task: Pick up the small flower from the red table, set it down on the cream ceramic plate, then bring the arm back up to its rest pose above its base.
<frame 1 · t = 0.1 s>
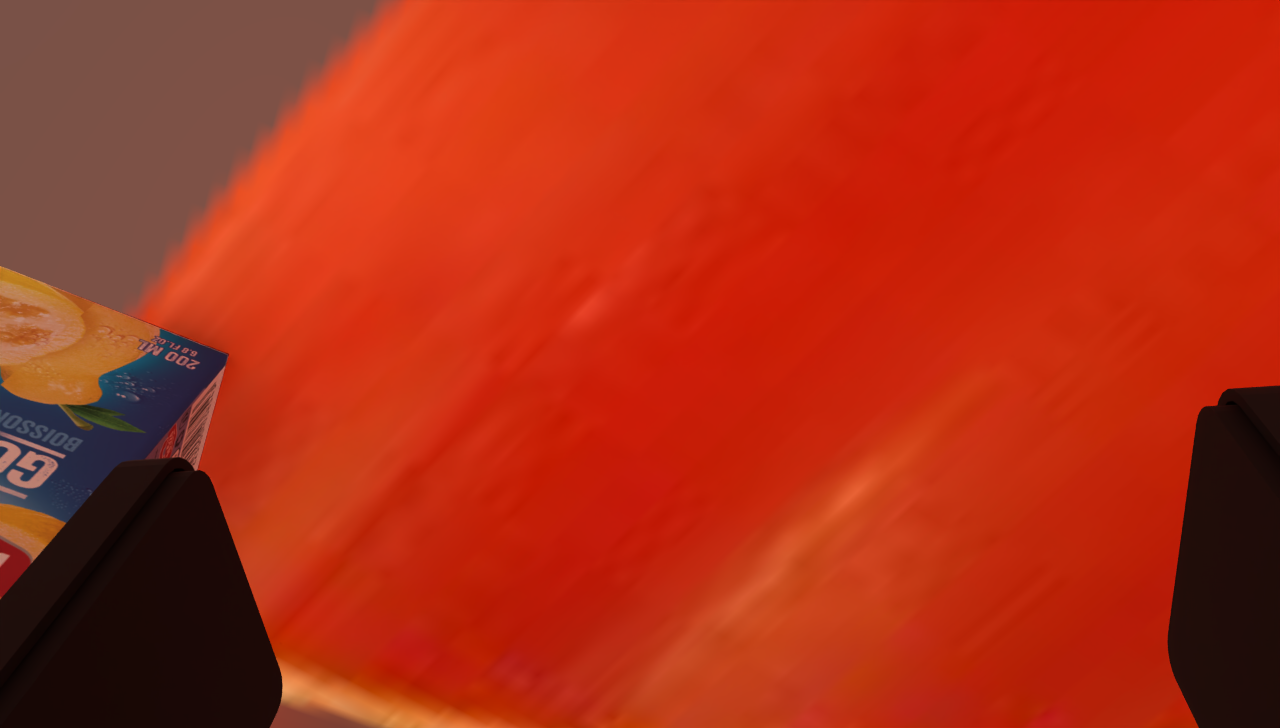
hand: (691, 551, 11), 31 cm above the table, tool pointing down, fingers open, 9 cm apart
beverage box: (91, 368, 48), on the table
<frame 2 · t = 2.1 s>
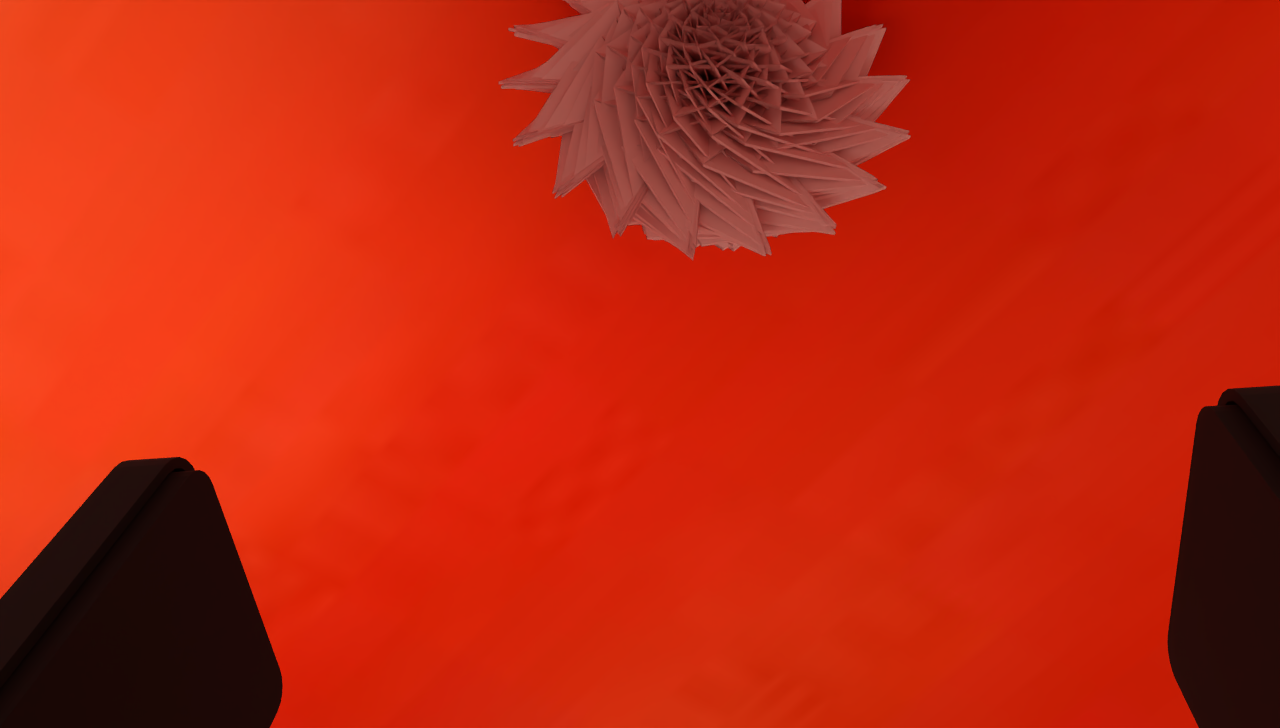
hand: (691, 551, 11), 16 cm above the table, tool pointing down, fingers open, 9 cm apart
flower: (698, 59, 25), on the table
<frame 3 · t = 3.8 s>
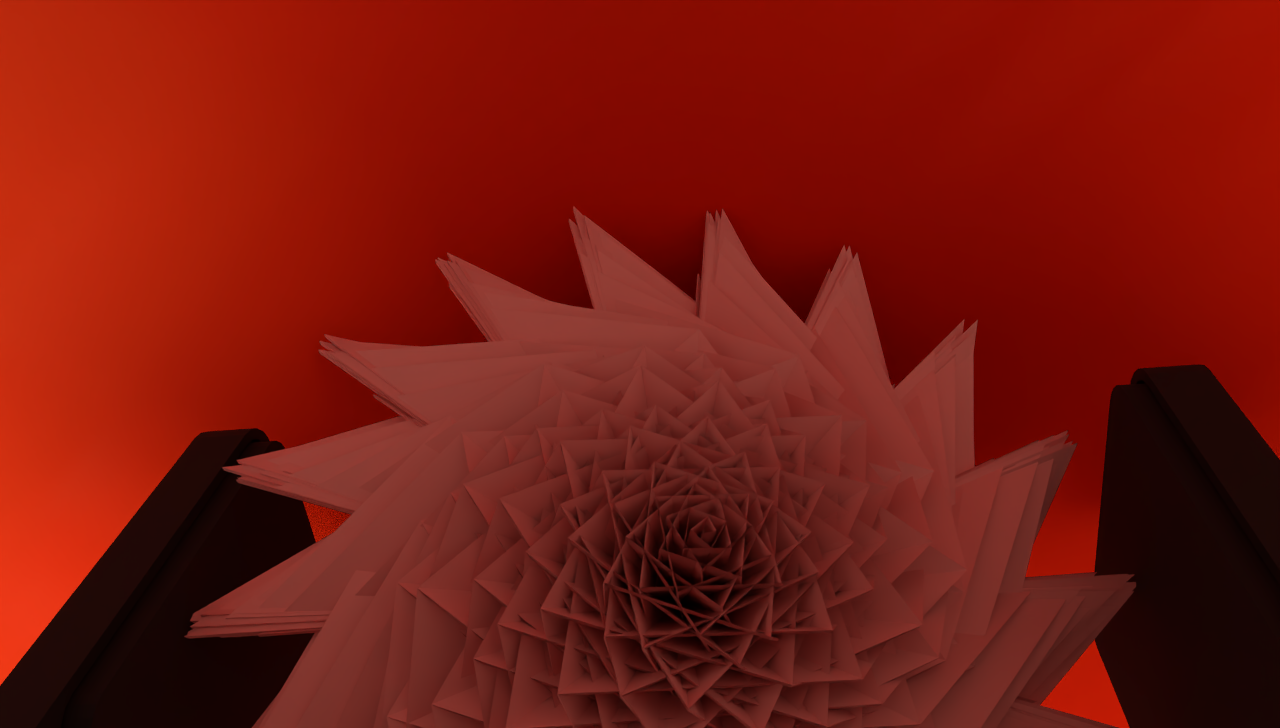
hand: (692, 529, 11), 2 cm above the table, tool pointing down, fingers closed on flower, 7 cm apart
flower: (668, 425, 13), on the table, touching gripper
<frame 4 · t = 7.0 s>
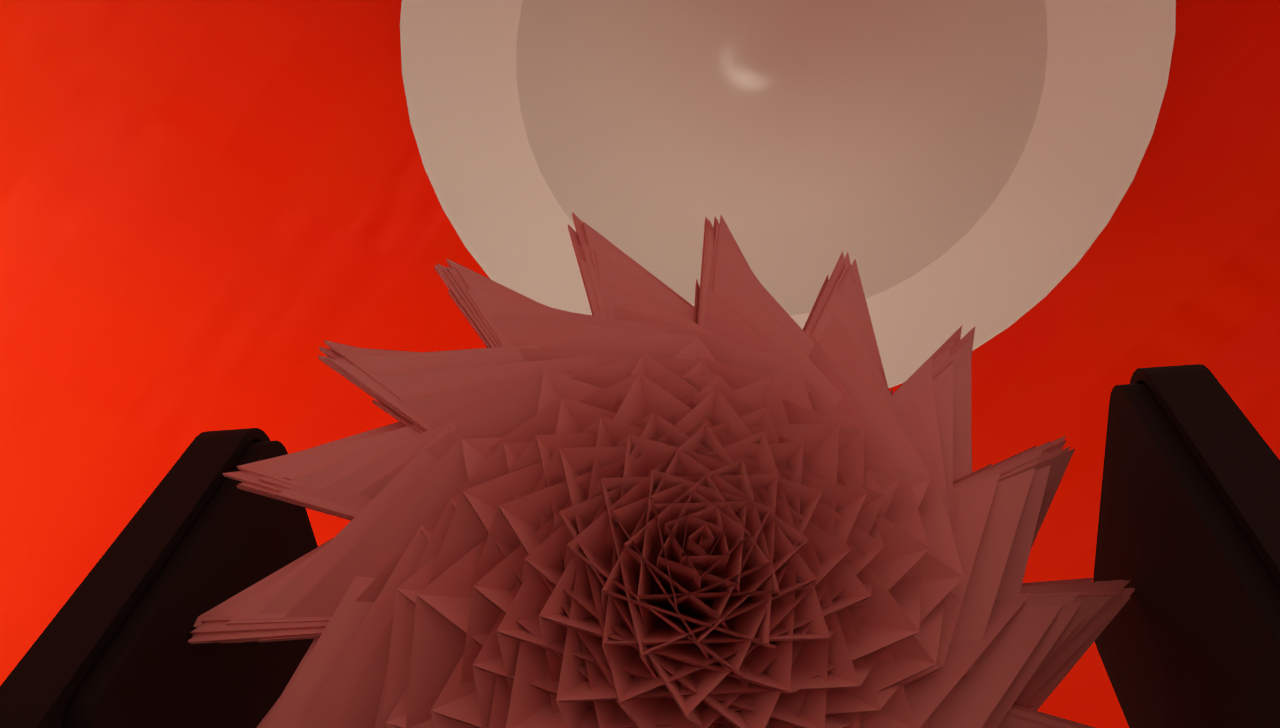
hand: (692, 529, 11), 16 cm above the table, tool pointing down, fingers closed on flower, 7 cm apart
flower: (667, 429, 13), point 14 cm above the table, touching gripper
plate: (774, 65, 24), on the table
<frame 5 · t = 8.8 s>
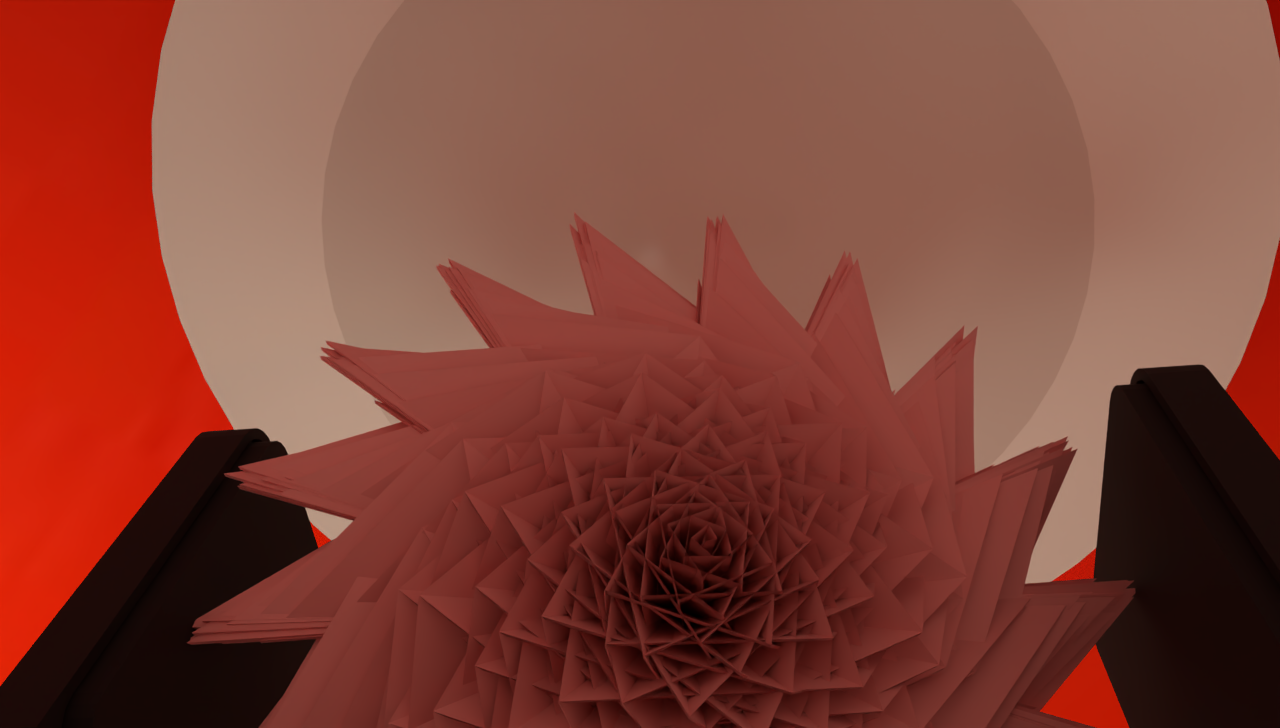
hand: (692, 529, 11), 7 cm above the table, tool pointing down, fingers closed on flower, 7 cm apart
flower: (669, 430, 13), point 5 cm above the table, touching gripper
plate: (700, 244, 17), on the table
when the fingers open (3 cm above the table, at t = 10.2 s): flower stays where it is, resting on plate.
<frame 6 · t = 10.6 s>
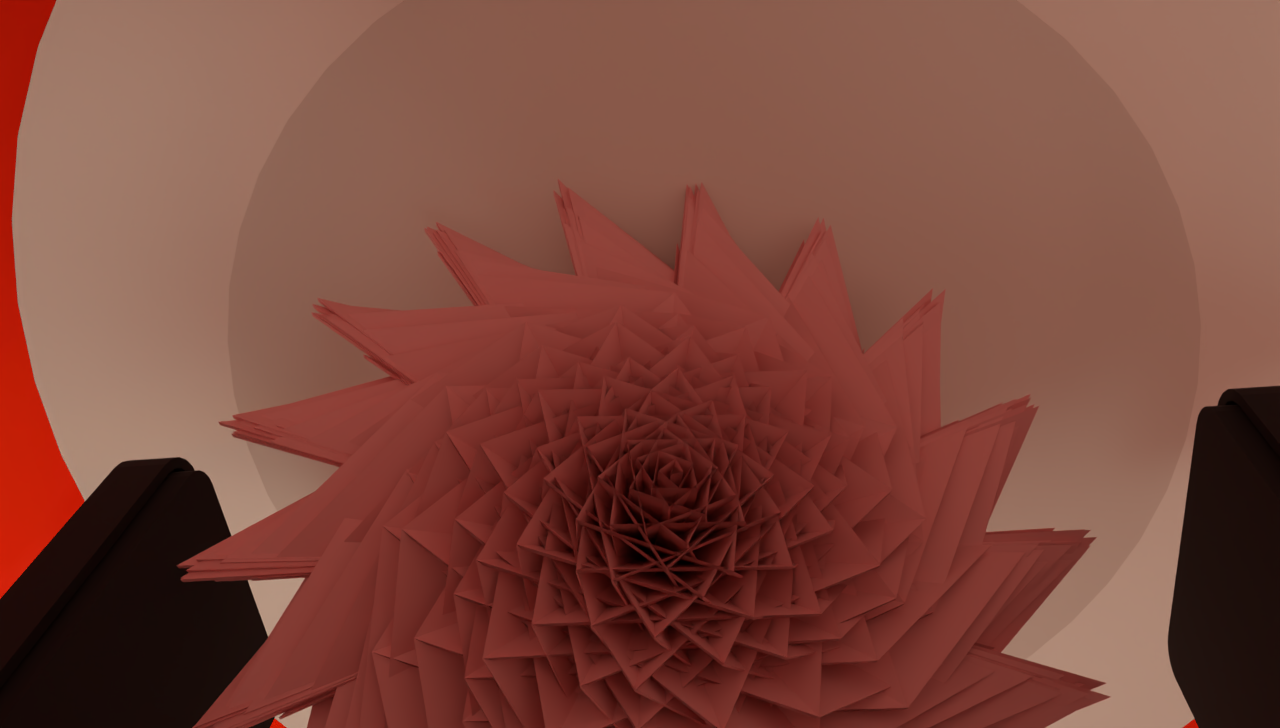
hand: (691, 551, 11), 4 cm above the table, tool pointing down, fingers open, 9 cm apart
flower: (651, 395, 13), point 1 cm above the table, touching plate
plate: (700, 362, 14), on the table
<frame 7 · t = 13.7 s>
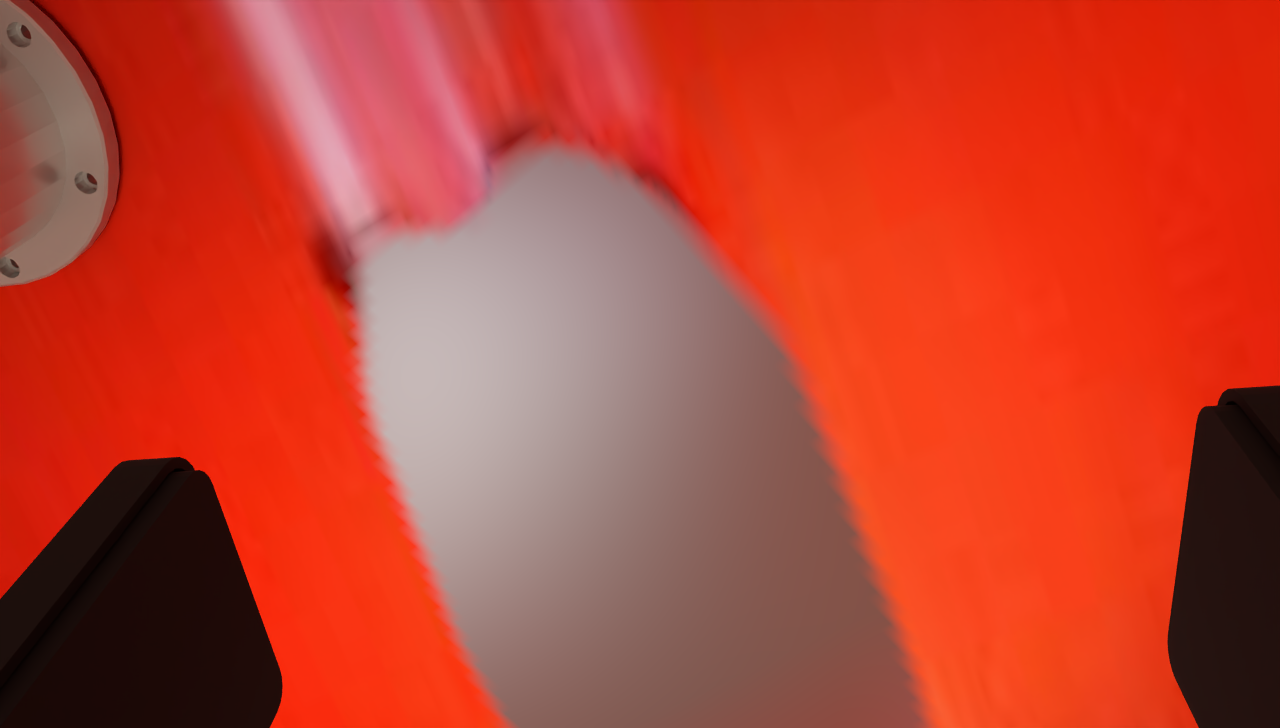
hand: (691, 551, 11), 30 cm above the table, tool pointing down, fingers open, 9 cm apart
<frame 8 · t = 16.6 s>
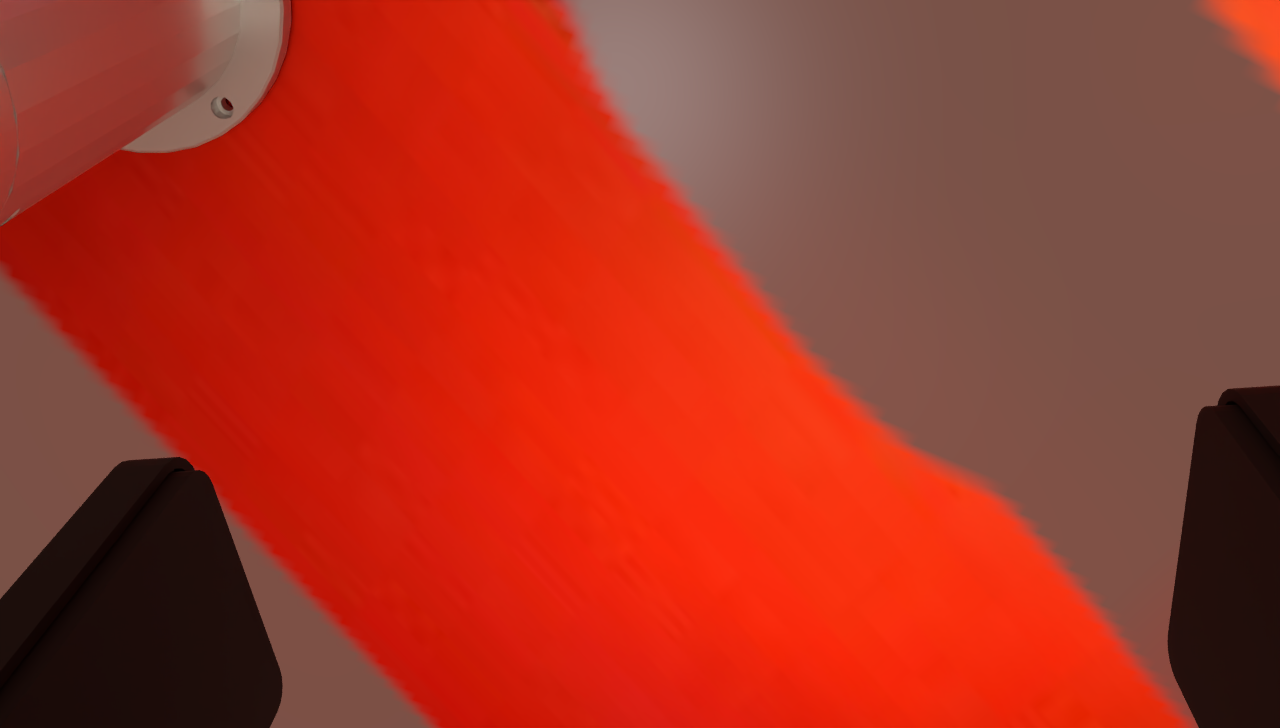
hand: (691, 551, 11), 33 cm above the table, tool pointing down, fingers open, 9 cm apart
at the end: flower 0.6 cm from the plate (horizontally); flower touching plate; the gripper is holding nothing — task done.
